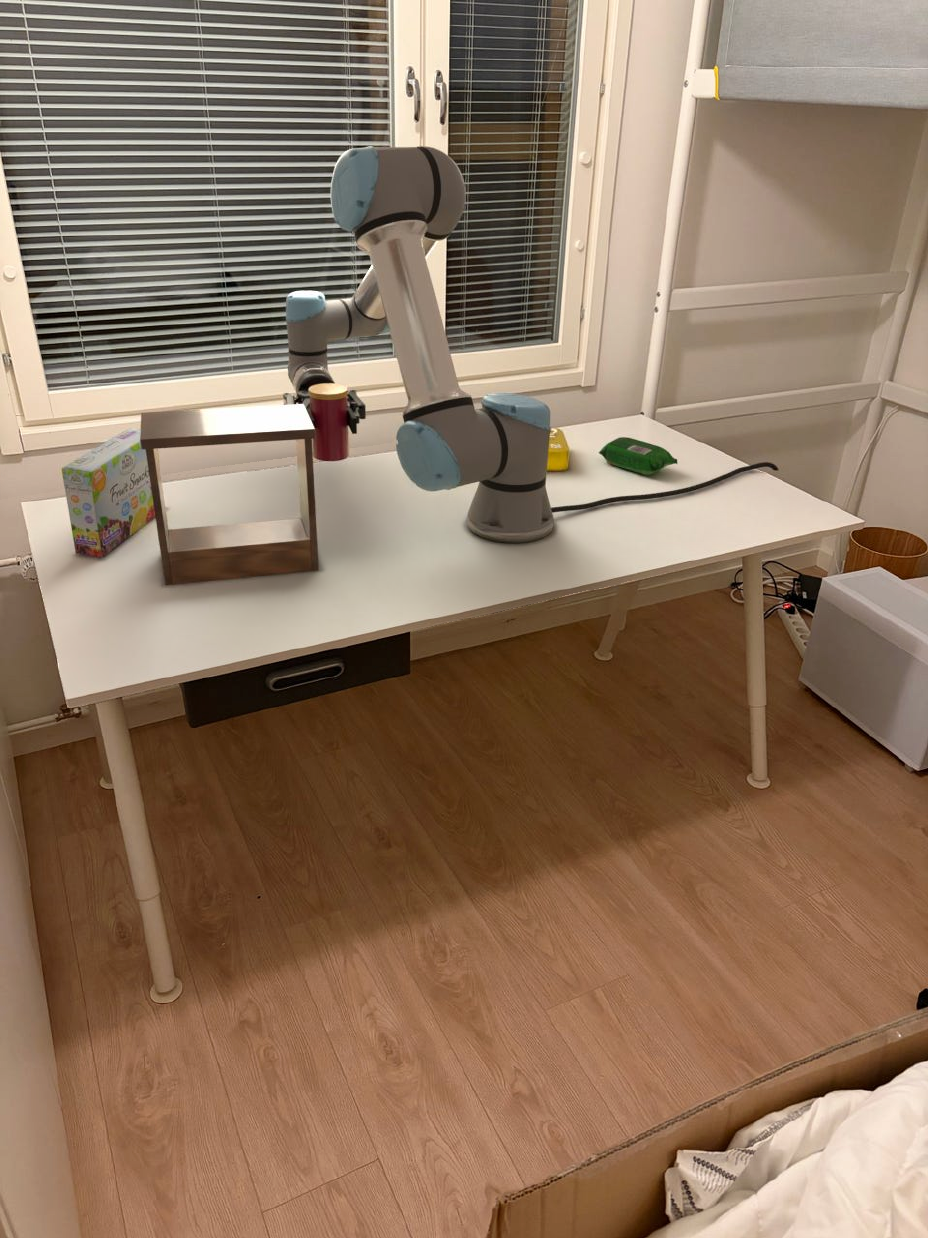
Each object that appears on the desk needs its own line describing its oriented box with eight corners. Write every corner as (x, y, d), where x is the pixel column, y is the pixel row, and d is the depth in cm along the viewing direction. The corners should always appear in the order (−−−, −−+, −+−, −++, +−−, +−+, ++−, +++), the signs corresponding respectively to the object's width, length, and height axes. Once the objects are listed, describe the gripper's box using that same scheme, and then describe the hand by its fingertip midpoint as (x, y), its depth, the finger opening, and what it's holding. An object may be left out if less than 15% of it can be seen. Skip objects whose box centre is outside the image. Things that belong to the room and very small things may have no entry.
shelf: (311, 538, 161) (303, 403, 149) (322, 570, 150) (315, 428, 139) (161, 551, 154) (141, 412, 143) (162, 586, 144) (140, 439, 132)
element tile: (492, 445, 204) (492, 424, 202) (560, 446, 205) (562, 425, 202) (496, 470, 191) (497, 447, 189) (569, 471, 192) (571, 449, 189)
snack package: (658, 483, 188) (661, 458, 185) (595, 462, 197) (598, 438, 194) (677, 474, 192) (681, 450, 190) (615, 454, 202) (618, 431, 199)
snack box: (106, 559, 151) (90, 471, 144) (74, 555, 152) (57, 467, 145) (167, 509, 170) (156, 428, 162) (139, 505, 170) (126, 425, 163)
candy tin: (346, 447, 170) (344, 382, 164) (352, 460, 165) (350, 393, 159) (309, 449, 169) (306, 383, 163) (314, 462, 163) (311, 395, 157)
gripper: (366, 405, 183) (389, 444, 163) (265, 410, 178) (277, 452, 159) (365, 366, 179) (389, 402, 160) (262, 371, 174) (274, 408, 155)
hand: (333, 427), depth 159 cm, fingers closed on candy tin, 6 cm apart
